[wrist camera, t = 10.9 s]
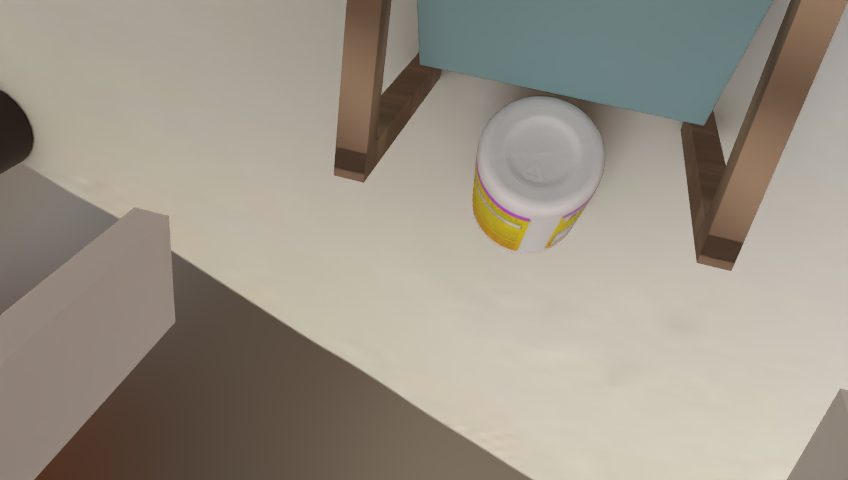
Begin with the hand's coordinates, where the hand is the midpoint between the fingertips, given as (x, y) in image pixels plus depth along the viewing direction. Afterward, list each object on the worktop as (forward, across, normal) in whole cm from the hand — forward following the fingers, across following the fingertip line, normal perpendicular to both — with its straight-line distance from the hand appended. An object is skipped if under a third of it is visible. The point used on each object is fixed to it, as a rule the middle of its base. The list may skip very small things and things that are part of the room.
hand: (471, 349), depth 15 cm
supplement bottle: (+24, 0, -6) cm, 25 cm away
